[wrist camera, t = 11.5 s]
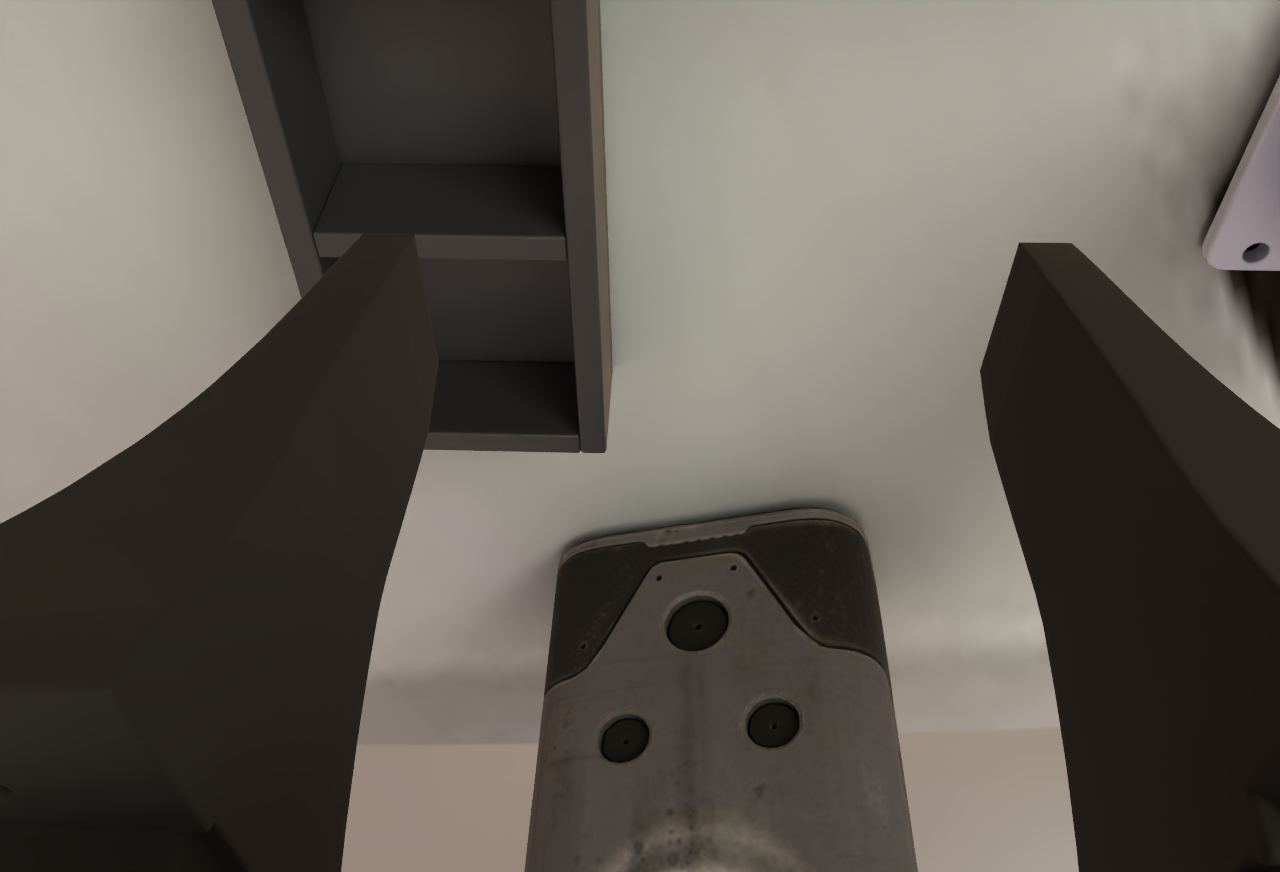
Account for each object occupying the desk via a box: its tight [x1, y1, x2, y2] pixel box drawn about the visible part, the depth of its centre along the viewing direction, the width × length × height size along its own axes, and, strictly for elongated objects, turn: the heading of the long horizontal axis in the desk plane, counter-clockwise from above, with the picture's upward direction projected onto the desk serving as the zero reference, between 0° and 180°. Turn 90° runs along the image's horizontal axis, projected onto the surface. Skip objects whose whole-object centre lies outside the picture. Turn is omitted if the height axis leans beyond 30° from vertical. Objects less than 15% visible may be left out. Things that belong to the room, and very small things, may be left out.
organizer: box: [212, 0, 613, 453], centre depth 22 cm, size 6×12×3 cm, turn 0°
